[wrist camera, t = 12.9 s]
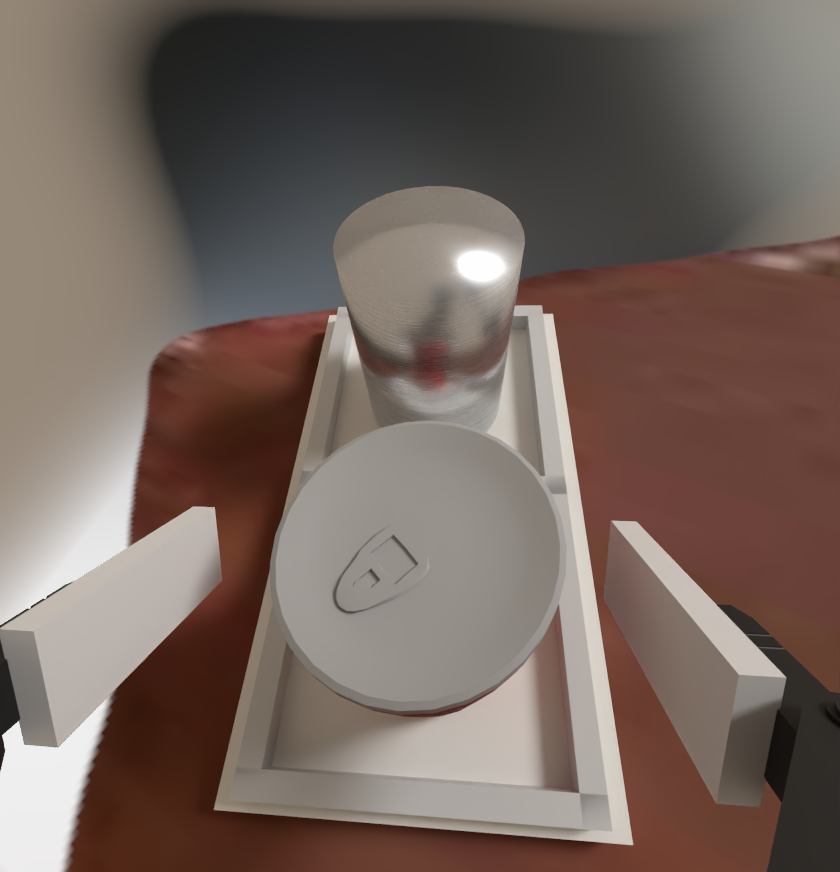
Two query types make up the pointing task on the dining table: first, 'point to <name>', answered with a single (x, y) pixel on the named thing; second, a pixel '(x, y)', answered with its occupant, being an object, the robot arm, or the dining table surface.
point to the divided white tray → (474, 725)
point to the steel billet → (431, 301)
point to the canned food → (418, 568)
